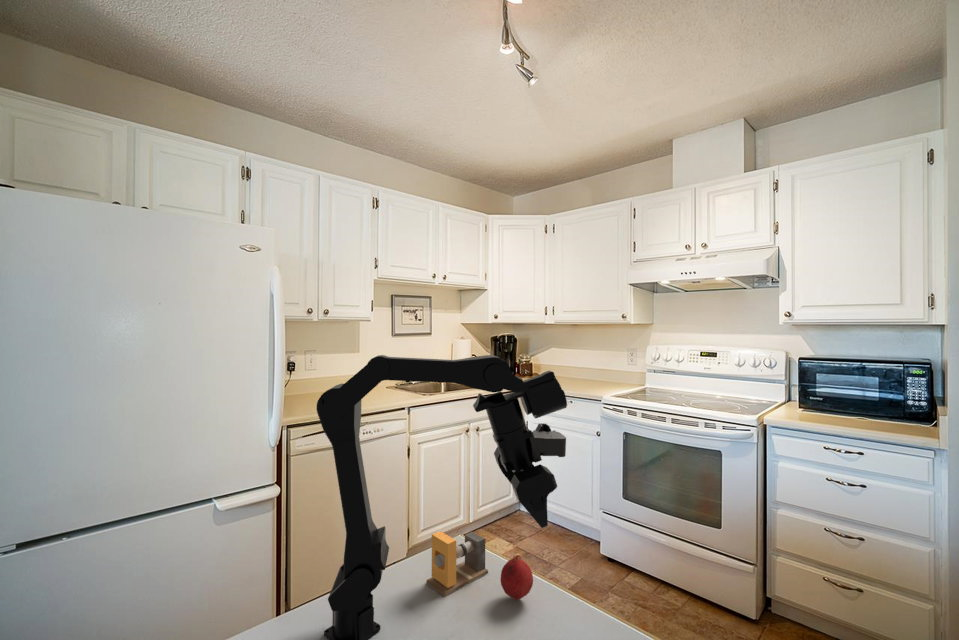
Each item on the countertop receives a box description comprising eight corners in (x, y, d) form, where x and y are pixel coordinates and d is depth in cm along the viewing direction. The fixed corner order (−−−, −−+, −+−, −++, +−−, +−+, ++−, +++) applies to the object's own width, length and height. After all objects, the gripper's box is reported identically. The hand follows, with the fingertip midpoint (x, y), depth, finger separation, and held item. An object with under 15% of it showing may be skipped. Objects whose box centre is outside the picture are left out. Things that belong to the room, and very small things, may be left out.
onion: (517, 614, 72) (517, 567, 72) (493, 598, 76) (493, 553, 77) (539, 600, 76) (539, 555, 76) (516, 585, 80) (516, 543, 80)
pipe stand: (444, 596, 77) (444, 560, 77) (426, 583, 81) (426, 548, 81) (488, 573, 84) (488, 540, 85) (469, 561, 88) (469, 530, 89)
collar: (447, 588, 78) (447, 544, 78) (431, 576, 82) (431, 534, 82) (456, 583, 79) (456, 540, 79) (439, 572, 83) (439, 531, 83)
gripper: (573, 424, 63) (602, 521, 64) (537, 401, 82) (560, 477, 83) (503, 450, 62) (535, 549, 62) (483, 420, 80) (507, 497, 81)
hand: (536, 513), depth 72 cm, fingers open, 9 cm apart
